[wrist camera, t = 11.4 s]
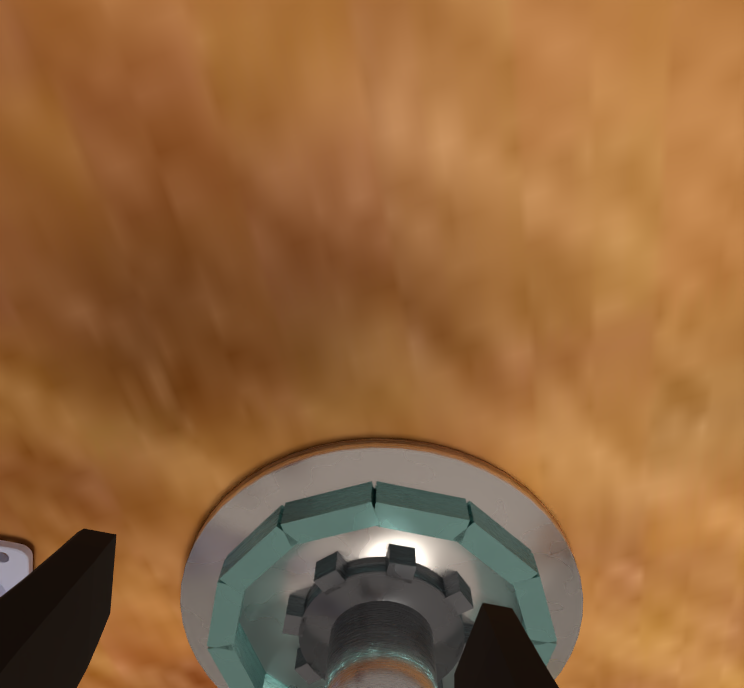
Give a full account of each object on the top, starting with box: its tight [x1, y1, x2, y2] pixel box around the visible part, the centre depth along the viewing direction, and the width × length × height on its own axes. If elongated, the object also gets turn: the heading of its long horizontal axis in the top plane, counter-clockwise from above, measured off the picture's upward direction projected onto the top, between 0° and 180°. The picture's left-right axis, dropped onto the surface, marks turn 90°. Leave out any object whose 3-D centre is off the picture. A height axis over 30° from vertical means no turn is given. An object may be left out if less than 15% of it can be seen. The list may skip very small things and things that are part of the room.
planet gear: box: [282, 544, 474, 688], centre depth 23 cm, size 8×8×6 cm
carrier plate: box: [180, 438, 583, 688], centre depth 25 cm, size 16×16×2 cm
